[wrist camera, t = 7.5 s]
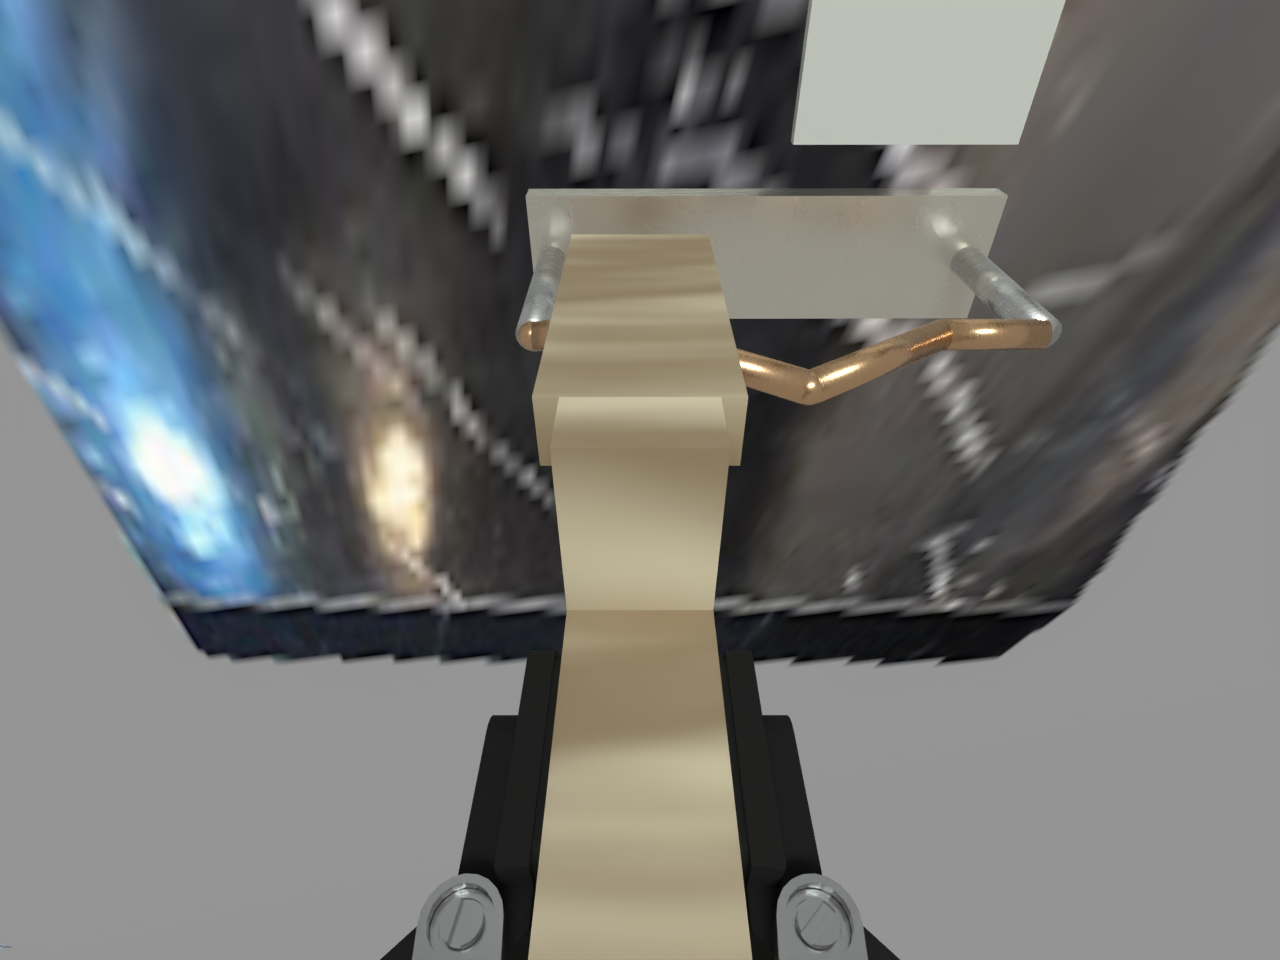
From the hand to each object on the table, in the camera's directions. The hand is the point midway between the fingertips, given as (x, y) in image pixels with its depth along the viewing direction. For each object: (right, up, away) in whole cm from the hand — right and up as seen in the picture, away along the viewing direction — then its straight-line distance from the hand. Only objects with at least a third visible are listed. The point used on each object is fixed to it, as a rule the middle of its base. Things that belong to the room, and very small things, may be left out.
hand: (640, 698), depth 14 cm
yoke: (0, +7, +9) cm, 12 cm away
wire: (+6, +16, +19) cm, 26 cm away
